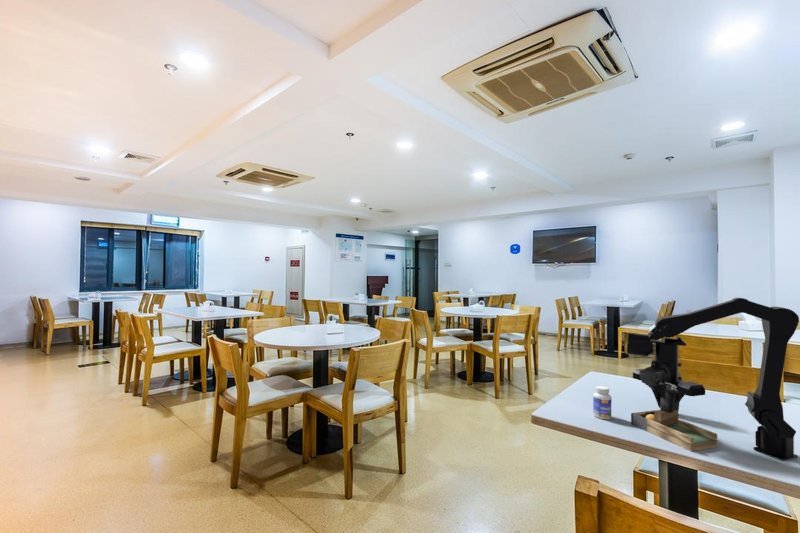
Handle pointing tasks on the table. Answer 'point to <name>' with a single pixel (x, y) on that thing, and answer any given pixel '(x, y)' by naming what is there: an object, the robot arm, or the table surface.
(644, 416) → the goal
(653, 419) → the ball
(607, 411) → the pill bottle
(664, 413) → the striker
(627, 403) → the table surface
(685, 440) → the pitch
